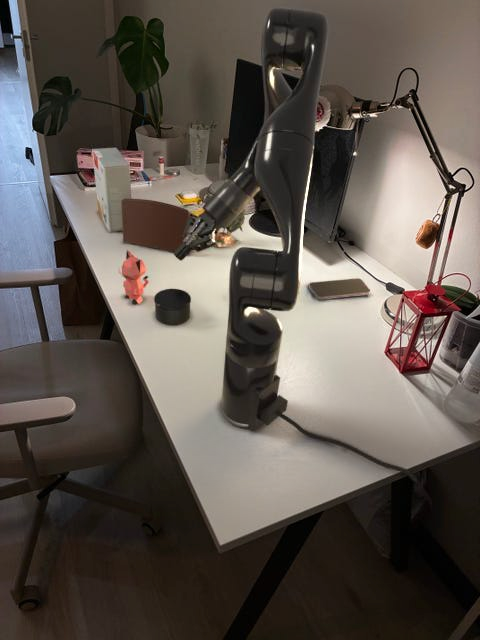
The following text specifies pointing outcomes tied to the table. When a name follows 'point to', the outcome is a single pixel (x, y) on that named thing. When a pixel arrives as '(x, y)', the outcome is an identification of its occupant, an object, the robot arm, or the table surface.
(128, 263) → the cat figurine
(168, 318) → the steel tin
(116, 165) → the hard drive box
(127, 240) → the letter holder
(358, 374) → the table surface
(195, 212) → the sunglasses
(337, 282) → the smartphone
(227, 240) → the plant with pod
